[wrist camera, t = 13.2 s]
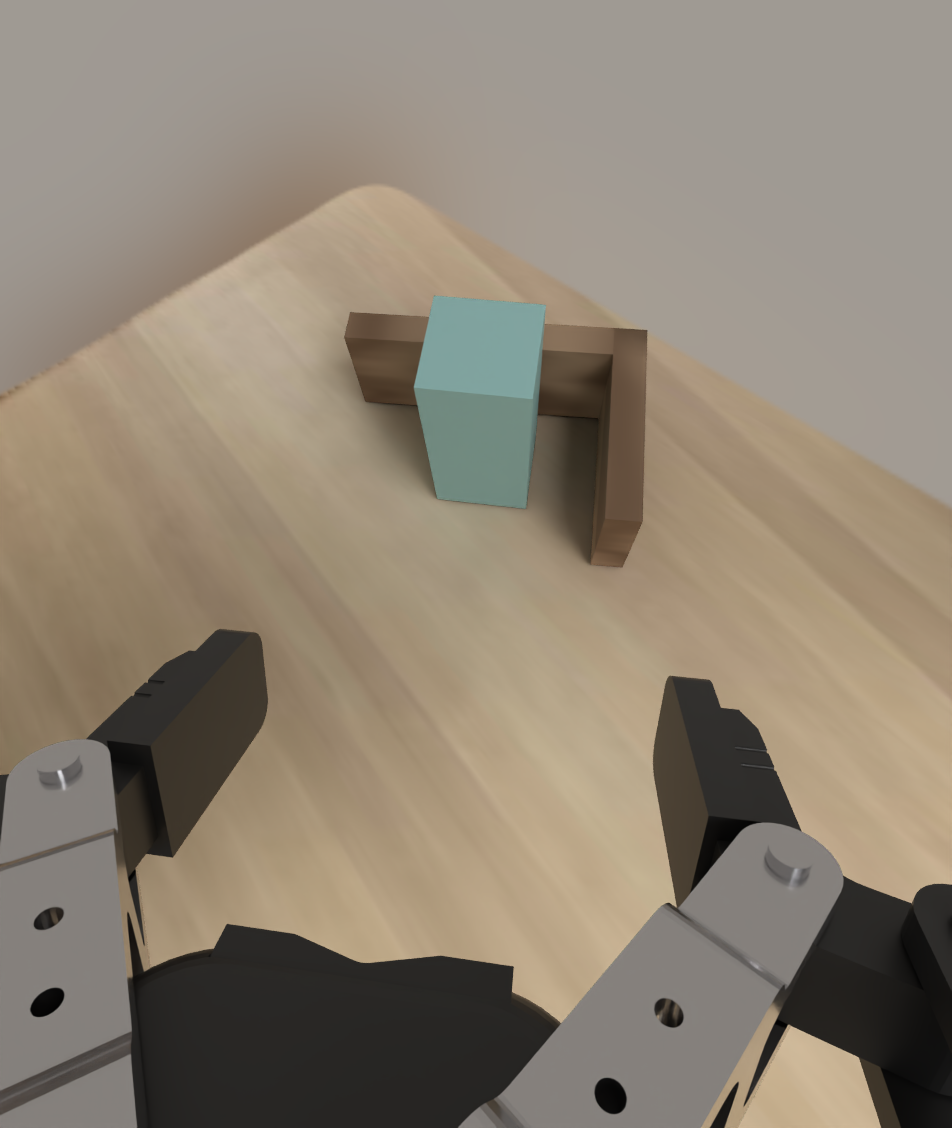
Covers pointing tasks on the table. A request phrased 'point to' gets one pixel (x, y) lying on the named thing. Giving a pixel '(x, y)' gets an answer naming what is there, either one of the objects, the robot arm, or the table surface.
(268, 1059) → the robot arm
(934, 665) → the table surface
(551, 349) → the walnut corner
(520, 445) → the teal block
